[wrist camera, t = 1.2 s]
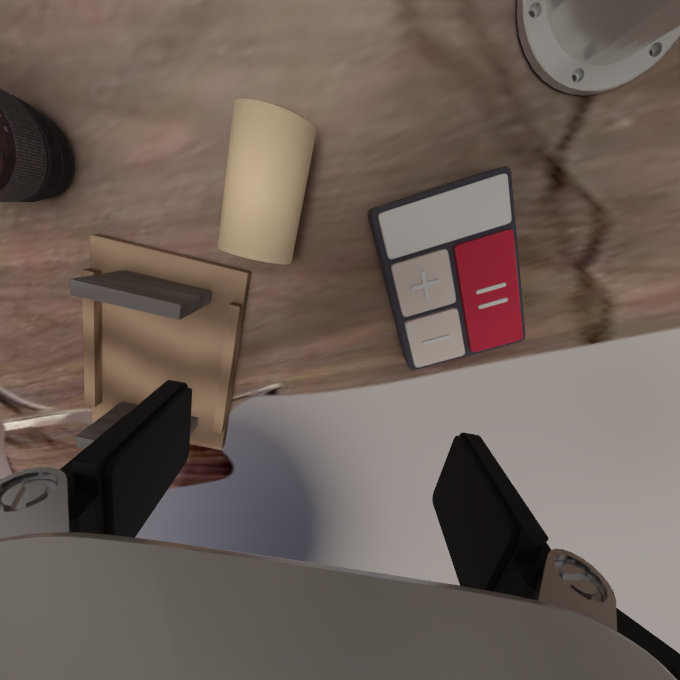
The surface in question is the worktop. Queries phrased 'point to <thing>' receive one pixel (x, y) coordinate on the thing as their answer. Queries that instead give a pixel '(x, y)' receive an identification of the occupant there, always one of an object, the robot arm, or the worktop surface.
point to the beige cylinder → (265, 181)
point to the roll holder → (159, 333)
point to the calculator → (452, 268)
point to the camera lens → (31, 154)
